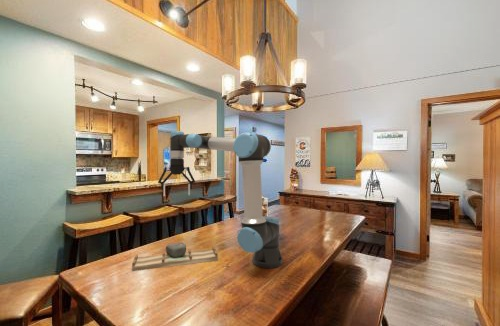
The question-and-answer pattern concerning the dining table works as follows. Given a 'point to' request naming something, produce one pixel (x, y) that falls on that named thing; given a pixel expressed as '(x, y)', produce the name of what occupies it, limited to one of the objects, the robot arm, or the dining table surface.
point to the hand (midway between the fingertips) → (176, 195)
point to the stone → (176, 249)
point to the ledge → (174, 259)
